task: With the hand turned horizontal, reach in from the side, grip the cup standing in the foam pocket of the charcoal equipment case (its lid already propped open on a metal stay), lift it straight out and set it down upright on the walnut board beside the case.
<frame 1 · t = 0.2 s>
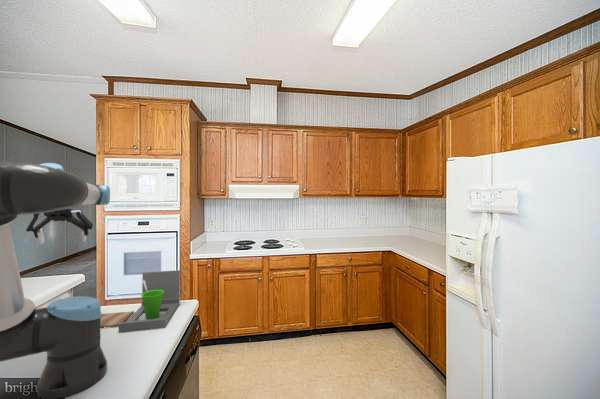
hand: (64, 241, 108), 35 cm above the counter, tool tilted 35°, fingers open, 13 cm apart
equipment case: (152, 317, 114), on the counter
cup: (152, 317, 114), resting in equipment case
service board: (111, 321, 110), on the counter
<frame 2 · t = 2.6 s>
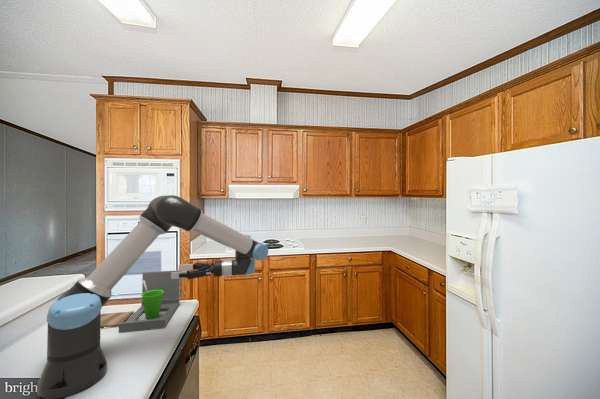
hand: (175, 271, 116), 20 cm above the counter, tool horizontal, fingers open, 13 cm apart
nothing on the counter moved.
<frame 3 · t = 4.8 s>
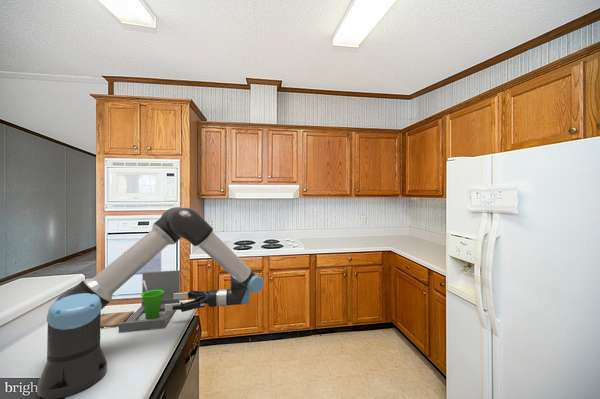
hand: (169, 301, 116), 6 cm above the counter, tool horizontal, fingers open, 13 cm apart
nothing on the counter moved.
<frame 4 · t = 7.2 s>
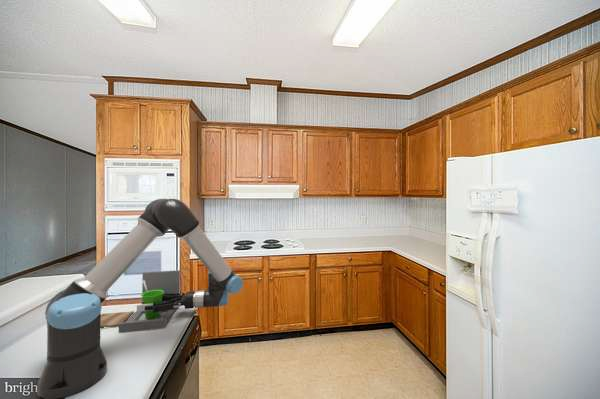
hand: (141, 303, 113), 7 cm above the counter, tool horizontal, fingers closed on cup, 9 cm apart
cup: (152, 317, 114), resting in equipment case, touching gripper
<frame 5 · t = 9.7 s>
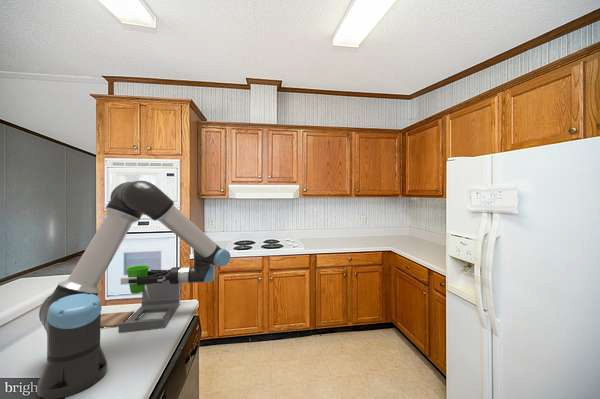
hand: (126, 278, 113), 18 cm above the counter, tool horizontal, fingers closed on cup, 9 cm apart
cup: (137, 292, 113), point 12 cm above the counter, touching gripper
when the fingers open (9 cm above the counter, at t = 12.6 s): cup drops 1 cm, resting on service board.
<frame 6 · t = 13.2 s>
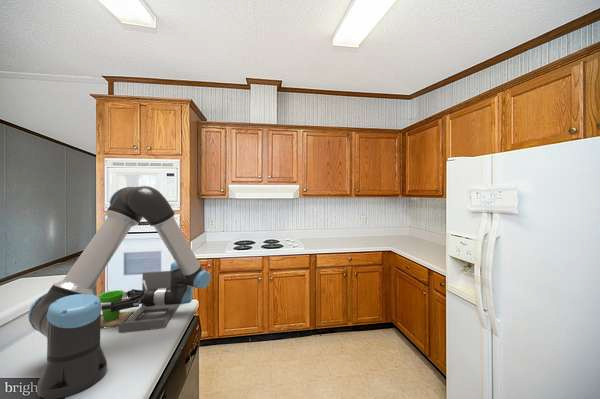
hand: (102, 301, 109), 9 cm above the counter, tool horizontal, fingers open, 13 cm apart
cup: (111, 319, 110), point 1 cm above the counter, touching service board
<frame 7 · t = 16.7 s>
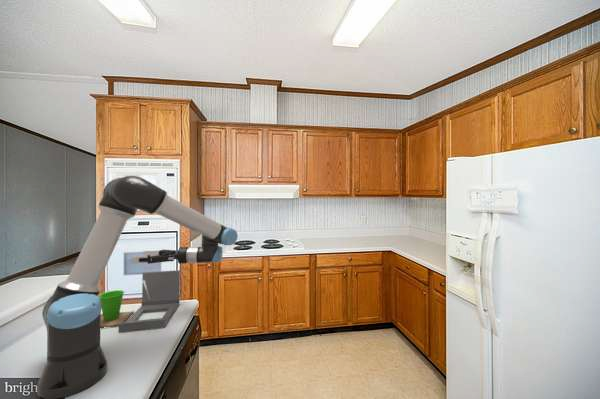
hand: (137, 256, 113), 28 cm above the counter, tool horizontal, fingers open, 13 cm apart
nothing on the counter moved.
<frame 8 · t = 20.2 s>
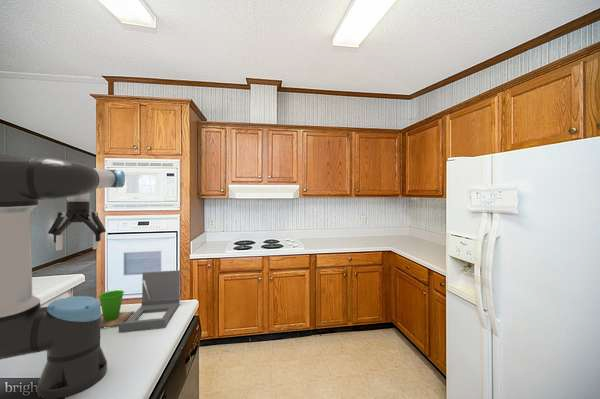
hand: (77, 249, 109), 32 cm above the counter, tool pointing down, fingers open, 13 cm apart
nothing on the counter moved.
at the end: cup inside the target area on the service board (0.1 cm from its centre), point 0.8 cm above the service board's base; cup tilted 0°; cup touching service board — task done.
